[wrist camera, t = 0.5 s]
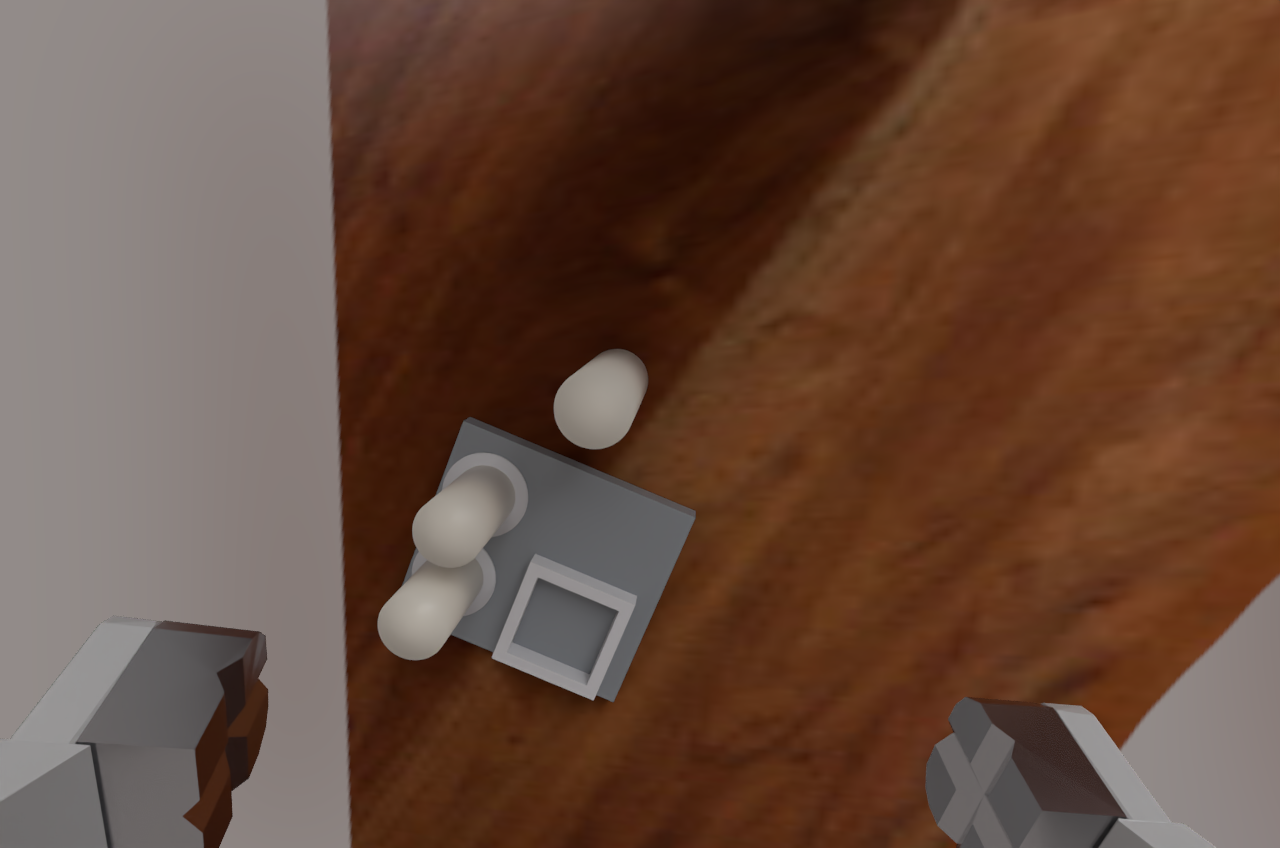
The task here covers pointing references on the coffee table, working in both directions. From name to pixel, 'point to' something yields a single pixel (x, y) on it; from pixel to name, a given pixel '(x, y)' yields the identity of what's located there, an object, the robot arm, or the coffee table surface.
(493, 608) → the pin board
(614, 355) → the ivory pin
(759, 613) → the coffee table surface
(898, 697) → the coffee table surface
